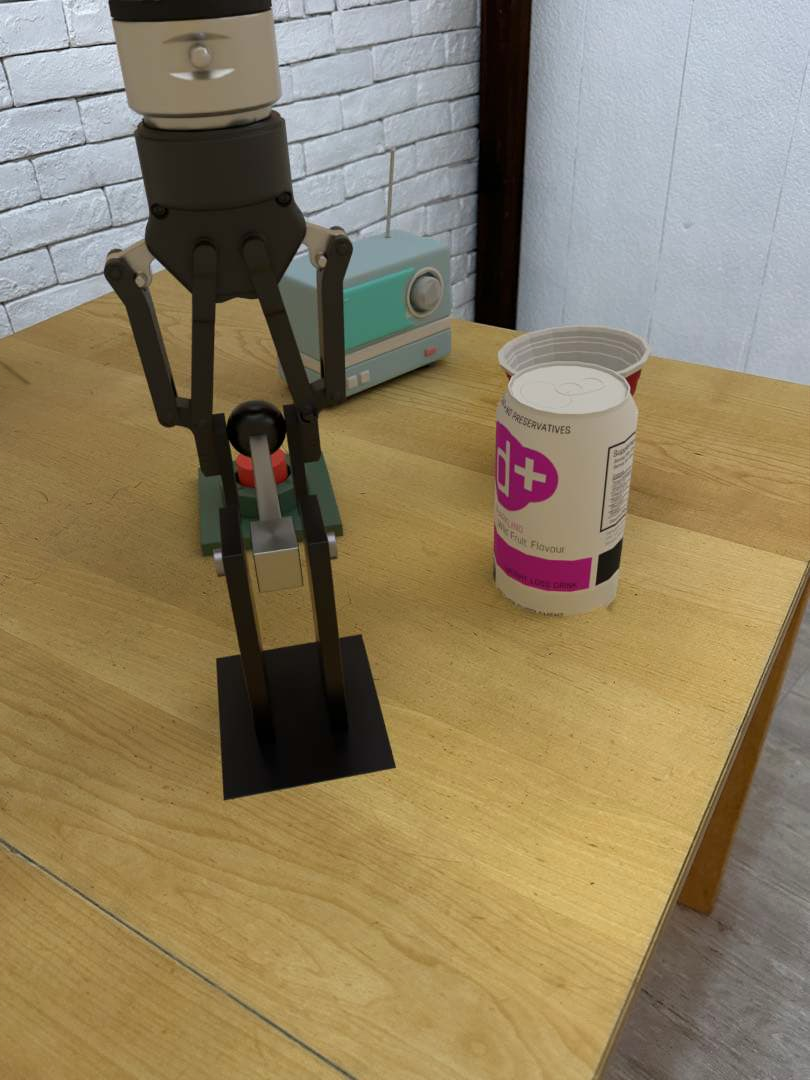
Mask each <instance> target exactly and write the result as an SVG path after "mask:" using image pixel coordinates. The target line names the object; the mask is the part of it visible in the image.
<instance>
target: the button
mask: <svg viewBox="0 0 810 1080" xmlns="http://www.w3.org/2000/svg"><path fill="white" fill-rule="evenodd" d="M285 453H286V452H285V451H284V450H282V449H281V448H279V449H278V450H277V451H276V452H275V453H274V454H272V455H271V461H272V466H273V472H274V478H275V484H276V485H278V484H280V483H282V482H284V481H286V479H287V476H288V473H287V466H286V458H285ZM235 460H236V464H237V470H238V476H239V481H240V484H241V485H242V486H243V487H249V488H255V481H254V474H253V466H252V459H251V458H249V457H246V456H244V455H242V454H240V453H239V454H238V455H237V456H236V458H235Z"/></svg>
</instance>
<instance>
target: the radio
mask: <svg viewBox="0 0 810 1080" xmlns="http://www.w3.org/2000/svg"><path fill="white" fill-rule="evenodd" d="M389 151H390V158H389V172H388V174H389V176H388V189H387V190H388V191H387V192H388V193H387V209H386V225H385V232H381V233H378V234H373V235H371V236H368V237H364V238H361V239H358V240H354V241H351V243H352V245H353V253H352V256H351V259H350V262H349V265H348V268H347V271H346V274H345V277H344V280H343V301H344V338H345V376H346V399H345V401H344V402H346V401H347V400H348V397H350V396H353V395H355V394H357V393H360V392H362V391H365V390H368V389H370V388H373V387H374V386H377V385H379V384H380V385H381V384H382V383H384V382H385V383H386V382H387V381H390V380H392V379H394V378H397V377H400V376H402V375H404V374H406V373H409V372H412V371H414V370H416V369H418V368H421V367H432V366H434V365H436V361H438V360H441V359H444V358H446V357H448V356H449V355H450V354H452V329H451V328H452V316H451V314H452V302H451V301H452V292H451V290H452V289H451V288H452V285H451V284H452V279H451V276H452V275H451V271H452V270H451V246H450V245H449V244H448V243H445V242H442V241H438V240H434V239H431V238H428V237H425V236H422V235H419V234H415V233H412V232H409V231H405V230H401V229H392V230H391V218H392V203H393V201H392V200H393V187H394V168H395V155H396V154H395V153H396V151H397V149H396V146H393V147H391V149H389ZM316 269H317V268H315V267H314V266H312V264H311V262H310V260H309V257H308V254H306V255H304V256H299V257H297V258H293V260H292V261H291V263H290V265H289V267H288V269H287V270H286V272H285V274H284V276H283V277H282V279H281V281H280V283H279V284H278V286H279V289H280V292H281V296H282V299H283V302H284V305H285V308H286V311H287V314H288V318H289V321H290V324H291V327H292V330H293V333H294V336H295V339H296V343H297V346H298V349H299V352H300V355H301V358H302V361H303V364H304V368H305V371H306V374H307V377H308V380H309V383H312V382H314V381H316V380H318V379H321V375H320V352H319V329H318V306H317V283H316ZM276 359H277V368H278V375H279V378H280V380H281V381H282V382H284V383H286V384H287V381H286V378H285V375H284V372H283V369H282V366H281V363H280V360H279V357H278V354H277V353H276Z"/></svg>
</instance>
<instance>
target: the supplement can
mask: <svg viewBox="0 0 810 1080" xmlns="http://www.w3.org/2000/svg"><path fill="white" fill-rule="evenodd" d="M495 411H496V412H495V457H494V459H495V461H494V464H495V465H494V504H493V505H494V506H493V507H494V510H493V511H494V513H493V554H492V555H493V559H492V560H493V561H492V562H493V564H492V575H493V576H492V577H493V580H494V585H495V588H496V589H497V591H499V593H500V594H501V595H502V596H503V598H504V599H505V600H506V601H508V602H510V603H511V604H514V605H515V606H517V607H518V608H521V609H522V610H523V611H527V612H531V613H535V614H538V615H542V616H548V617H549V616H550V617H573V616H579V615H583V614H588V613H591V612H593V611H595V610H597V609H599V608H601V607H603V606H604V608H606V609H607V608H608V607H609V606H610V604H611V603H612V602H613V601H614V600H615V599H616V598H617V591H618V588H619V587H618V585H619V579H620V571H621V560H622V554H623V546H624V545H623V544H624V537H625V529H626V519H627V513H628V504H629V497H630V496H629V495H630V487H631V480H632V472H633V463H634V454H635V447H636V437H637V429H638V421H639V413H640V411H639V409H638V407H637V404H636V402H635V400H634V398H632V396H631V393H630V386H629V384H628V382H627V381H626V379H625V378H624V377H622V376H621V375H619V374H618V373H616V372H615V371H613V370H610V369H607V368H605V367H602V366H599V365H595V364H588V363H582V362H549V363H542V364H537V365H534V366H531V367H528V368H525V369H522V370H521V371H519V372H518V373H516V374H515V375H514V376H512V377H511V379H510V382H509V381H508V384H507V388H506V390H505V392H504V393H503V395H502V396H501V397H500V400H499V402H498V405H497V407H496V409H495Z"/></svg>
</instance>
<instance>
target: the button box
mask: <svg viewBox="0 0 810 1080" xmlns="http://www.w3.org/2000/svg"><path fill="white" fill-rule="evenodd" d="M284 453H285V458H286V466H287V473H288V476H287V479H286V481H284V482H282V483H280V484H278V485H276V489H277V495H278V501H279V507H280V512H281V518H283V517H290V516H292V517H293V520H294V526H295V531H296V536H297V541H298V543H301V542H303V535H302V527H301V519H300V516H299V514H298V509H297V505H296V500H295V495H294V487H293V480H292V472H291V465H290V457H289V453H286V452H284ZM304 465H305V473H306V481H307V489H308V495H314V494H317V496H318V500H319V504H320V508H321V512H322V516H323V520H324V525H325V529H326V532H332V531H333V532H334V533H335V538H336V537H342V536H344V527H343V522H342V517H341V515H340V511H339V507H338V504H337V500H336V497H335V493H334V489H333V485H332V482H331V481H332V480H331V478H330V475H329V469H328V467H327V464H326V460H325V456H324V453H323V450H321V456H320V459H319V461H316V462H309V463H304ZM233 466H234V471H235V477H236V483H237V489H238V494H239V500H240V508H241V517H242V530H243V536H244V542H245V548H246V551H248V550H249V551H250V550H252V544H251V536H250V528H249V523H250V522H255V521H260V517H259V509H258V502H257V495H256V488H249V487H243V486H242V485H241V484H240V481H239V476H238V470H237V464H236V459H235V460H233ZM197 480H198V481H197V483H198V505H199V526H200V527H199V532H200V533H199V535H200V547H201V551H202V556H203V557H209V556H213V550H214V549H218V548H221V540H220V525H219V511H218V509H219V508H224V507H227V506H226V500H225V495H224V489H223V484H222V478H221V475H218V476H210V477H205V476H204V474H203V473H202V471H201V468H200V467H198V468H197Z"/></svg>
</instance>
